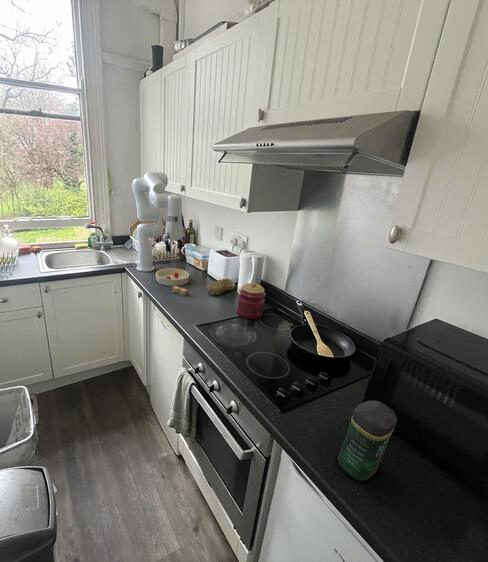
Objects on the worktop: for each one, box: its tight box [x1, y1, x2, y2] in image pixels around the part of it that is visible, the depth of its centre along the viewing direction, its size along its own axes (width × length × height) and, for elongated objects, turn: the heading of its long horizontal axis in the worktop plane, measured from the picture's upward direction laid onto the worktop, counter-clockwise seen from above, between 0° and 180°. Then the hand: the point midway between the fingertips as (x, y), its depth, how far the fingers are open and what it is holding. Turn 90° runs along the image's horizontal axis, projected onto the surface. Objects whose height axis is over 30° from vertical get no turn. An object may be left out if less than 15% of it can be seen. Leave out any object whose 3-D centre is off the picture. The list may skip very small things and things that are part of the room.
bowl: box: [155, 267, 190, 287], centre depth 189 cm, size 21×21×4 cm
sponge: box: [206, 278, 236, 296], centre depth 176 cm, size 13×8×20 cm
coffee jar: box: [337, 400, 398, 482], centre depth 73 cm, size 10×8×19 cm
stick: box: [171, 286, 190, 297], centre depth 172 cm, size 10×3×3 cm, turn 60°
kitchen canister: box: [236, 281, 266, 320], centre depth 150 cm, size 13×13×18 cm
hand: (174, 250), depth 166 cm, fingers open, 9 cm apart
